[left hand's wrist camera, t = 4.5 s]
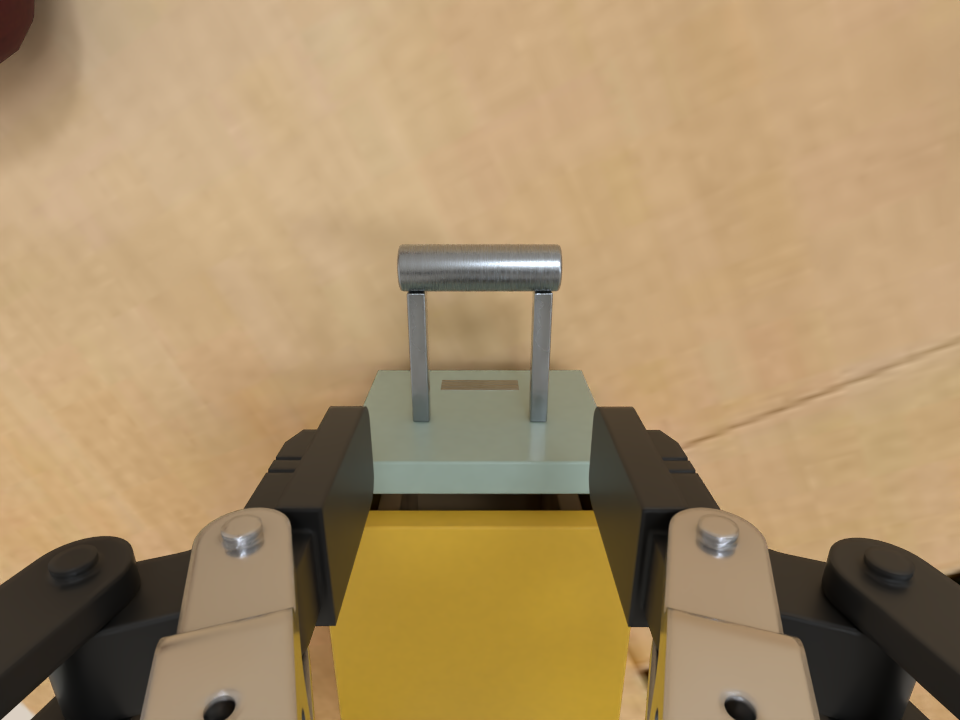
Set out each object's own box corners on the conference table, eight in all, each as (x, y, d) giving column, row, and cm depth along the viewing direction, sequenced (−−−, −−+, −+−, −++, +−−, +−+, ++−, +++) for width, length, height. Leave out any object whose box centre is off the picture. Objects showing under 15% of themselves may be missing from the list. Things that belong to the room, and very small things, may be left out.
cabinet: (370, 395, 26) (315, 527, 18) (589, 395, 26) (644, 527, 18) (391, 681, 33) (359, 881, 24) (568, 681, 33) (600, 881, 24)
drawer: (367, 223, 23) (317, 264, 16) (592, 223, 23) (641, 264, 16) (397, 656, 31) (373, 810, 24) (562, 656, 31) (586, 810, 24)
